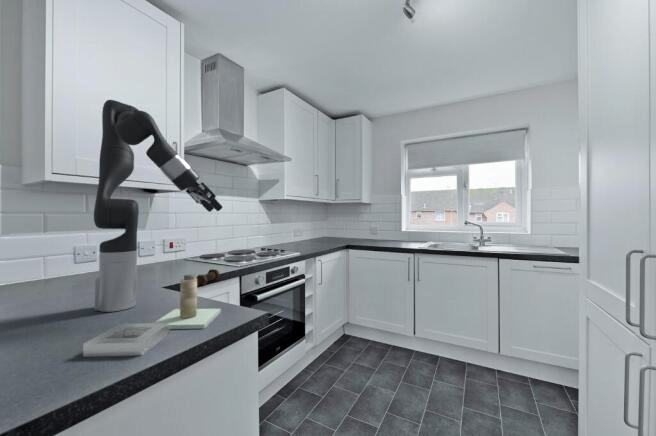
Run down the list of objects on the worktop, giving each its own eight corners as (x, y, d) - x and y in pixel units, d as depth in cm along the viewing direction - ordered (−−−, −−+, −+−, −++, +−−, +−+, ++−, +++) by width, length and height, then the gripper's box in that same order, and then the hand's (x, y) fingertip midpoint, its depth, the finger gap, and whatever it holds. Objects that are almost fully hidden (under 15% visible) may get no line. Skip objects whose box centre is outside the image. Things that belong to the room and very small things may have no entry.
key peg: (177, 318, 74) (177, 276, 74) (183, 313, 78) (184, 273, 78) (193, 318, 74) (193, 276, 75) (198, 313, 78) (199, 273, 79)
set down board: (149, 329, 69) (150, 325, 69) (174, 312, 82) (175, 309, 82) (204, 328, 70) (204, 324, 70) (220, 312, 83) (220, 308, 83)
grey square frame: (83, 356, 55) (83, 343, 55) (120, 334, 66) (120, 323, 66) (141, 355, 56) (142, 342, 56) (169, 333, 67) (169, 323, 67)
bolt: (193, 292, 114) (212, 283, 129) (203, 286, 114) (221, 277, 129) (186, 279, 115) (206, 271, 130) (196, 273, 114) (215, 266, 129)
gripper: (195, 162, 87) (231, 201, 94) (183, 168, 98) (216, 203, 105) (175, 177, 83) (215, 217, 90) (165, 182, 94) (201, 217, 101)
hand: (215, 209), depth 98 cm, fingers open, 8 cm apart
